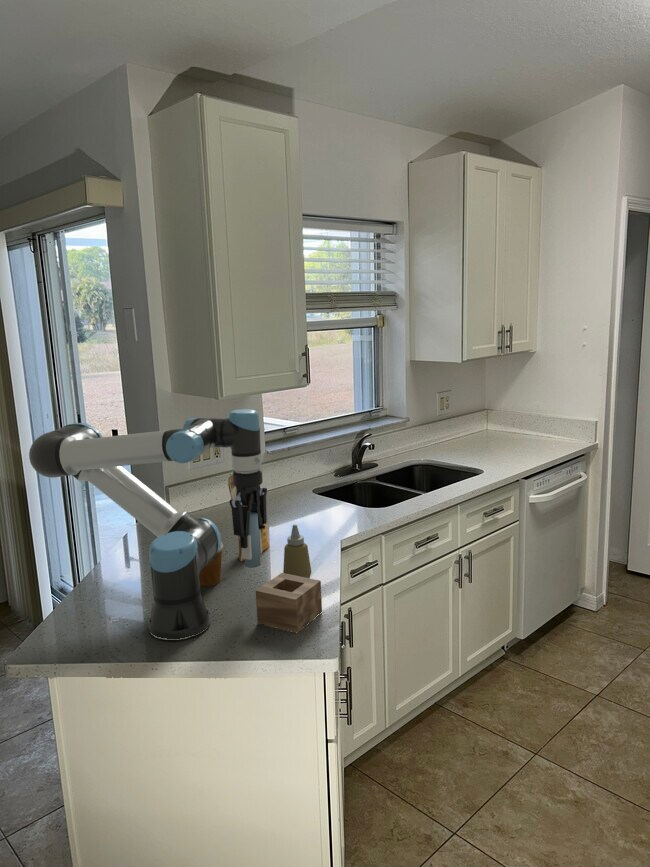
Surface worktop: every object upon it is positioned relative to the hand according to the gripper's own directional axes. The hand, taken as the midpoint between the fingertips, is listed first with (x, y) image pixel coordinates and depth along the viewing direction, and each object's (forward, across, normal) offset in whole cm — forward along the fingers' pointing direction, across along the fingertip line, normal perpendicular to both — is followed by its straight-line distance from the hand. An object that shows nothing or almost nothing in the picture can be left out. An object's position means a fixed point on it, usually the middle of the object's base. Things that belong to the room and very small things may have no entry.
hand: (252, 555), depth 178 cm
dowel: (+3, 0, 0) cm, 3 cm away
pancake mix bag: (+15, +31, +24) cm, 42 cm away
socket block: (+14, -2, -12) cm, 19 cm away
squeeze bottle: (+15, +16, -3) cm, 22 cm away
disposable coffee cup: (+15, +7, +22) cm, 27 cm away
